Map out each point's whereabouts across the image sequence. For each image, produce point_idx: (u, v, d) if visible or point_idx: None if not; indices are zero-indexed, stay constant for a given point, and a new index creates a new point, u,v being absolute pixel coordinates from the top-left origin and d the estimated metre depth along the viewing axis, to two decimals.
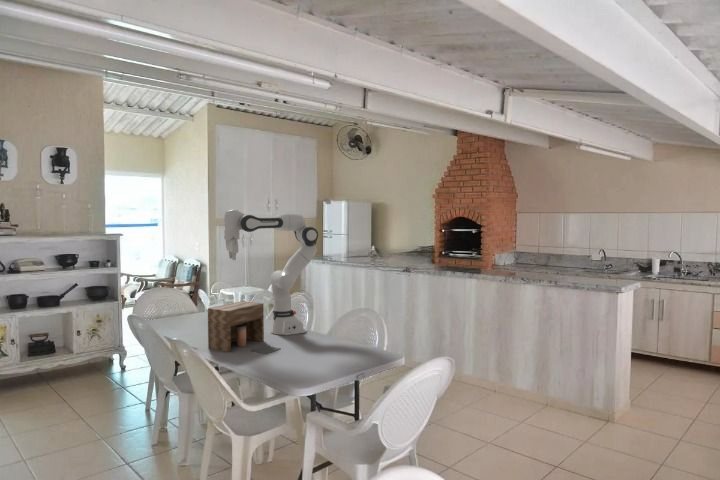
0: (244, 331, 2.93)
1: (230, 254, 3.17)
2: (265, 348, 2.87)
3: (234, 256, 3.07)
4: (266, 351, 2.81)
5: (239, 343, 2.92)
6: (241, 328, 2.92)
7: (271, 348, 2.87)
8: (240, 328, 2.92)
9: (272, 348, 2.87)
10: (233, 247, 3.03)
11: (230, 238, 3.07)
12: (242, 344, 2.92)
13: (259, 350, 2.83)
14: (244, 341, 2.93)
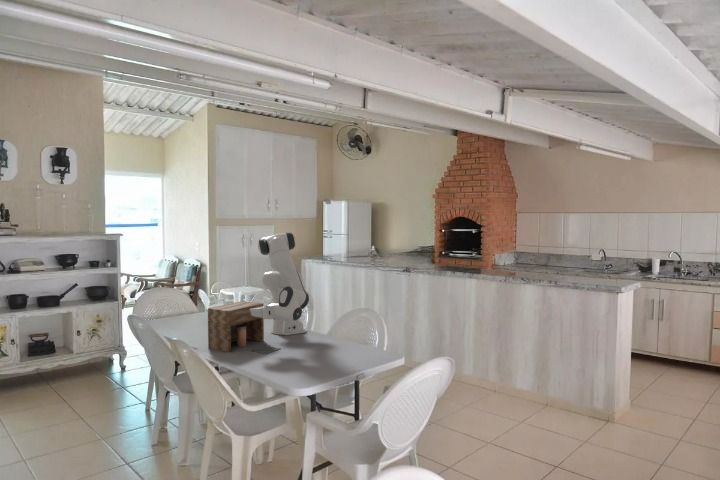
0: (244, 331, 2.93)
1: None
2: (265, 348, 2.87)
3: None
4: (266, 351, 2.81)
5: (239, 343, 2.92)
6: (241, 328, 2.92)
7: (271, 348, 2.87)
8: (240, 328, 2.92)
9: (272, 348, 2.87)
10: None
11: None
12: (242, 344, 2.92)
13: (259, 350, 2.83)
14: (244, 341, 2.93)
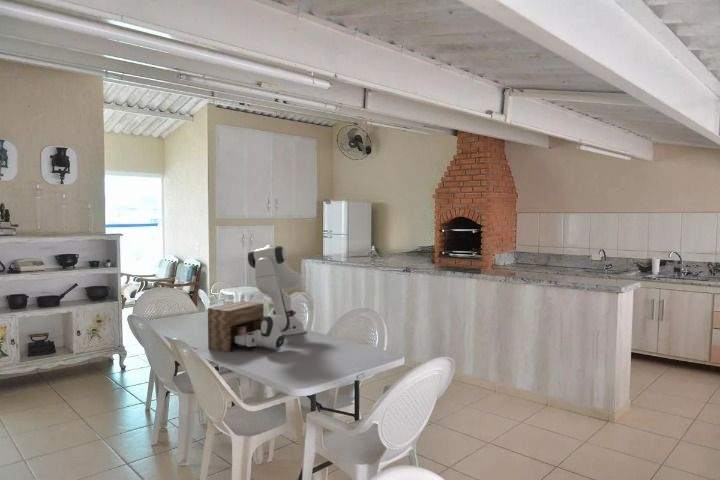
0: (244, 331, 2.93)
1: None
2: (265, 348, 2.87)
3: None
4: (266, 351, 2.81)
5: None
6: (241, 328, 2.92)
7: (271, 348, 2.87)
8: (240, 328, 2.92)
9: None
10: None
11: None
12: None
13: (259, 350, 2.83)
14: None
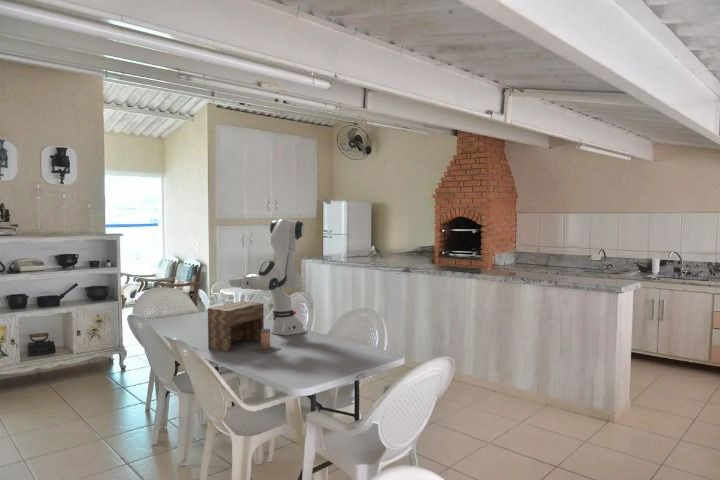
0: (268, 334, 2.84)
1: None
2: None
3: None
4: (266, 351, 2.81)
5: (263, 347, 2.83)
6: (265, 331, 2.82)
7: (271, 348, 2.87)
8: (264, 331, 2.82)
9: (272, 348, 2.87)
10: None
11: None
12: (266, 348, 2.83)
13: (259, 350, 2.83)
14: (268, 345, 2.84)
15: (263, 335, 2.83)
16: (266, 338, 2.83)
